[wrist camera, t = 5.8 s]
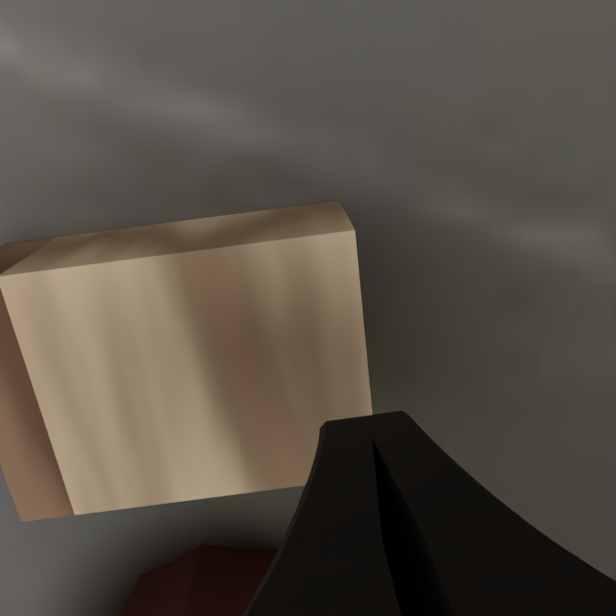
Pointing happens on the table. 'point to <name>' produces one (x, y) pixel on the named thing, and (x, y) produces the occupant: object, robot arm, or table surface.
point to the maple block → (177, 358)
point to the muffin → (201, 583)
